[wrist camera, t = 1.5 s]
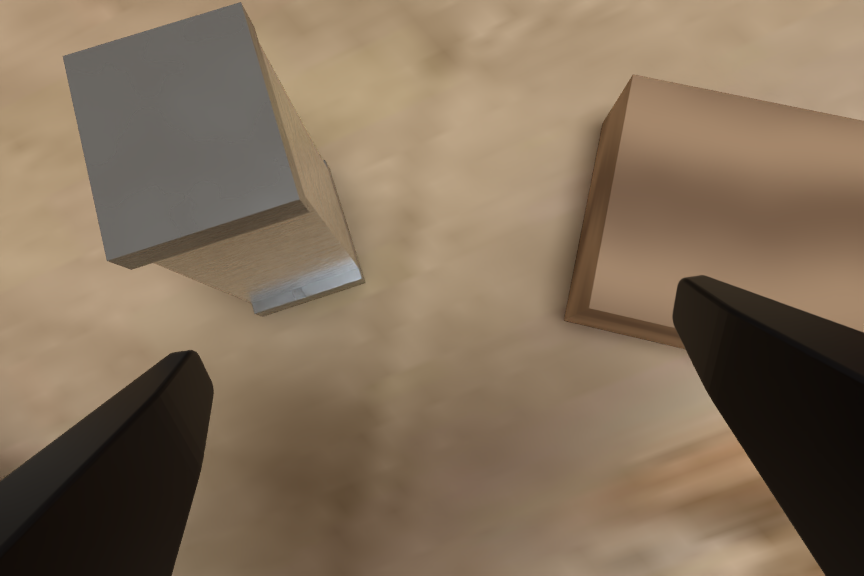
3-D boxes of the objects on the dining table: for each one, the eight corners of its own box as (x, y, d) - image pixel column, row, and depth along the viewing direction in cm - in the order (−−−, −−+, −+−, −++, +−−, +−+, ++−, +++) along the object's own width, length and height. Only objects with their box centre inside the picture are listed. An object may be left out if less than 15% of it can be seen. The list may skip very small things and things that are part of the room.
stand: (786, 372, 22) (859, 371, 18) (563, 320, 23) (588, 307, 19) (810, 166, 24) (882, 124, 20) (602, 123, 25) (633, 74, 21)
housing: (365, 282, 24) (299, 199, 13) (262, 316, 23) (107, 260, 13) (329, 168, 25) (240, 2, 14) (231, 200, 24) (63, 56, 14)
